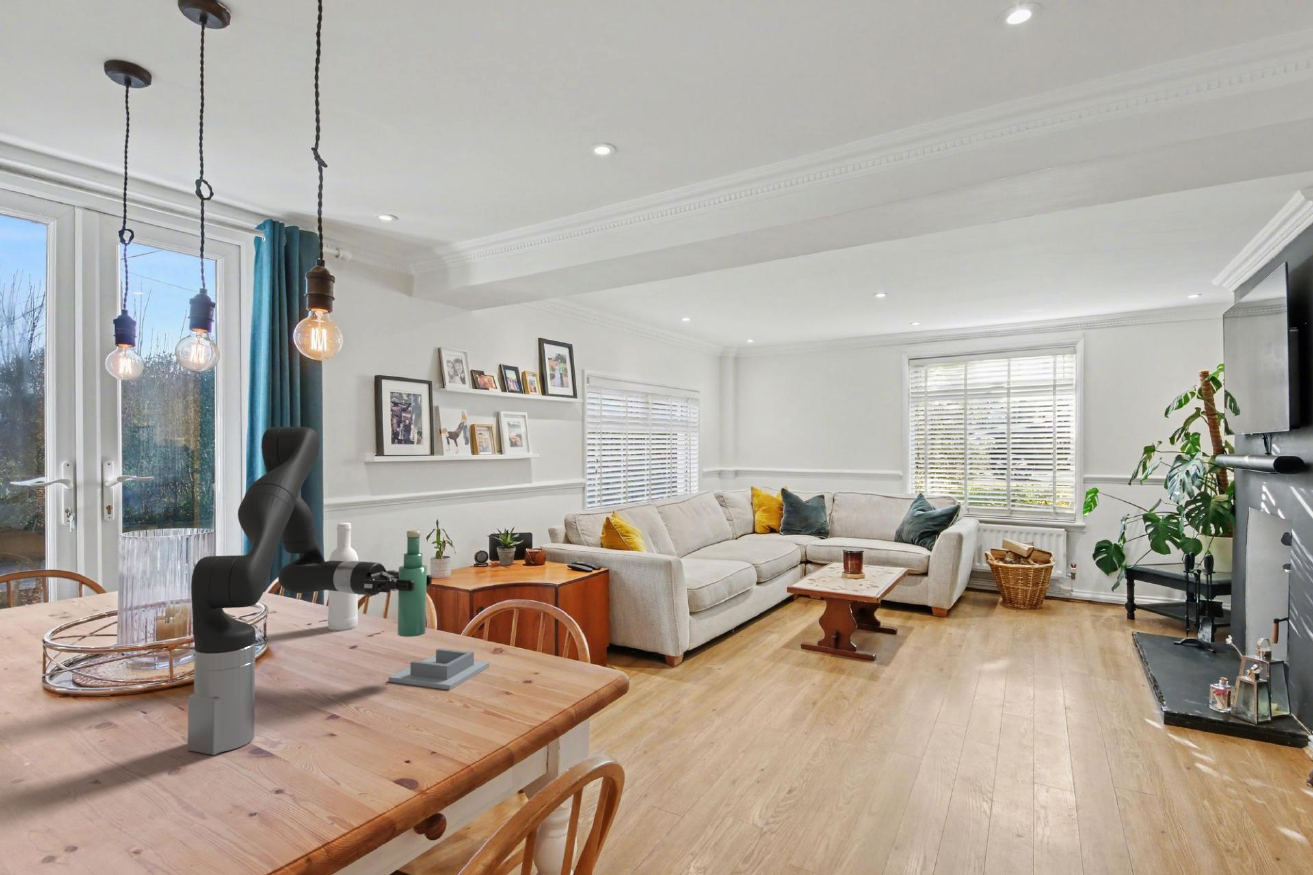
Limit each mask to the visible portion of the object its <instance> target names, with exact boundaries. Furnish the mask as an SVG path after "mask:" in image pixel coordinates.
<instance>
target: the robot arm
mask: <svg viewBox="0 0 1313 875" xmlns="http://www.w3.org/2000/svg"><path fill="white" fill-rule="evenodd" d="M320 444H321V441H320V437H319V434H318V433H317V431H316V430H315V429H313V428H312V427H307V426H275V427H269V428H267V429H265V431H264V432H263V435H262V438H261V445H260V448H261V455H262V460H263V465H264V468H265V472H266V473H265V474H264V475H261V476H260V477H259V478H258V479H257V480H254V482H253V483H252V484H251V485H250V486H249V487H248V489H247V491H246V492H245V495H244V497H243V498H242V500H241V503H240V504H239V506H238V509H237V510H238V511H237V519H238V523H239V525H240V528H241V529H242V531H243V533H244V535H245V536H246V538H247V539H248V540H249V542H250V544H251V549H250V551H249V552H248V553H245V554H241V555H240V554H239V555H238V554H237V555H213V556H212V555H209V556H204V557H202V558H200V559H199V560H198V561H197V562H196V564H195V566H194V568H193V570H192V575H191V579H190V580H191V582H190V596H191V598H190V599H191V614H192V616H191V617H192V635H193V640H194V661H193V662H194V666H193V668H194V669H193V670H194V671H193V673H194V676H193V693H192V694H190V695H189V696H188V698H187V700H188V703H187V704H188V706H187V708H188V710H187V751H191V752H196V753H202V754H207V755H212V756H215V755H217V754H219V753H223V752H228V751H231V750H235V749H238V748H241V747H243V746H246V745H247V744H249V743H251V741H253V740H254V738H255V718H256V717H255V715H256V714H255V711H256V710H255V707H256V706H255V704H256V703H255V702H256V701H255V699H256V641H257V638H256V635H257V634H256V628H255V627H254V626H253V625H252V624H250V623H247V622H244V621H241V620H237V619H236V618H233V617H231V616H230V615H228V614H227V613H226V612H225V611H224V609H234V608H235V609H238V608H239V609H240V608H241V609H242V608H247V607H249V608H250V607H253V606H255V605H256V604H257V603H258V602H259V601H260V599H261V598H262V596H263V595H264V593H265V589H266V587H267V584H268V580H269V577H270V573H271V569H272V566H273V563H274V559H275V556H276V551H277V549H278V545H279V543H280V541H281V542H282V547H283V551H285V552H286V553H289V554H294V555H295V554H298V558H297V559H295V560H293V561H292V562H290V563H289V562H288V564H286V565H284V566H283V567H282V568H281V569H280V571H279V572H278V575H277V576H278V577H277V578H278V583H279V585H280V586H281V587H282V588H283V589H284V590H286V591H288V592H289V593H293V594H307V593H315V592H321V591H329V590H330V591H340V592H345V593H350V594H358V595H361V596H371V597H372V596H376V595H379V594H380V593H386V594H388V593H390V592H396V591H398V590H403V591H413V590H414V581H410V580H399V570H395V569H388V570H386V568H385V566H384V565H383V564H382V563H380V562H372V561H360V560H358V561H333V560H332V561H329V560H326V561H325V558H324V556H323V554H322V551H321V549H320V547H319V544H318V542H317V540H316V532H315V531H316V530H315V521H314V516H313V513H312V510H311V509H310V507H309V506H308V504H307V503H306V502H305V501H304V499H303V498H302V497H301V496H300V492H301V488H302V486H303V485H304V482H305V480H306V479H307V477H308V475H309V474H310V472H311V471H312V469H313V467H314V465H315V464H316V462H317V460H318V459H317V458H318V455H319V452H320V446H321V445H320ZM432 578H433V576H432V575H431V574H427V582H426V586H431V585H432V583H433V579H432Z"/></svg>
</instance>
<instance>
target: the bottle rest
mask: <svg viewBox="0 0 1313 875" xmlns="http://www.w3.org/2000/svg"><path fill="white" fill-rule="evenodd" d="M489 667H490V662H485V661H478V660H475V652H474V651H466V650H457V649H449V648H447V649H446V648H437V649H435V655H431V656H429V657H427V658H425V659H423V660H411V661H410V666H408V667H407V668H405V669H402V670H400V671H399V672H396V673H394V674H391V675H390V676H388V683H397V684H403V685H411V686H420V687H425V688H435V689H441V690H449V691H450V690H451V691H452V689H454V688H456V687H457V686H460V685H461V684H462V683H464V682H466V681H468V680H469V679H471V678H473V677H474V676H476V675H479V674H480V673H481V672H483V671H485V670H486V669H487V668H489Z"/></svg>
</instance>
